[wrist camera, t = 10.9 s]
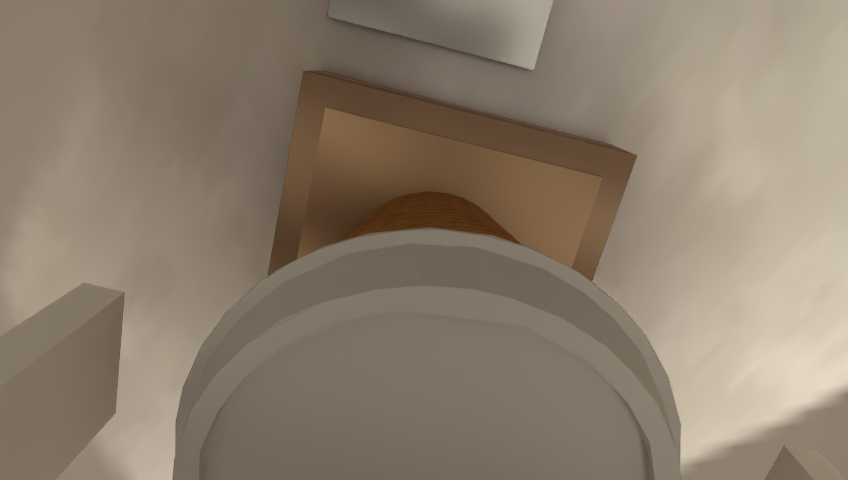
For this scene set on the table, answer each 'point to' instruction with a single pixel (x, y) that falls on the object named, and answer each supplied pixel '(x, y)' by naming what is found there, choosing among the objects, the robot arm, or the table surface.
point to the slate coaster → (458, 24)
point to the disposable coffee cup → (427, 365)
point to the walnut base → (441, 170)
